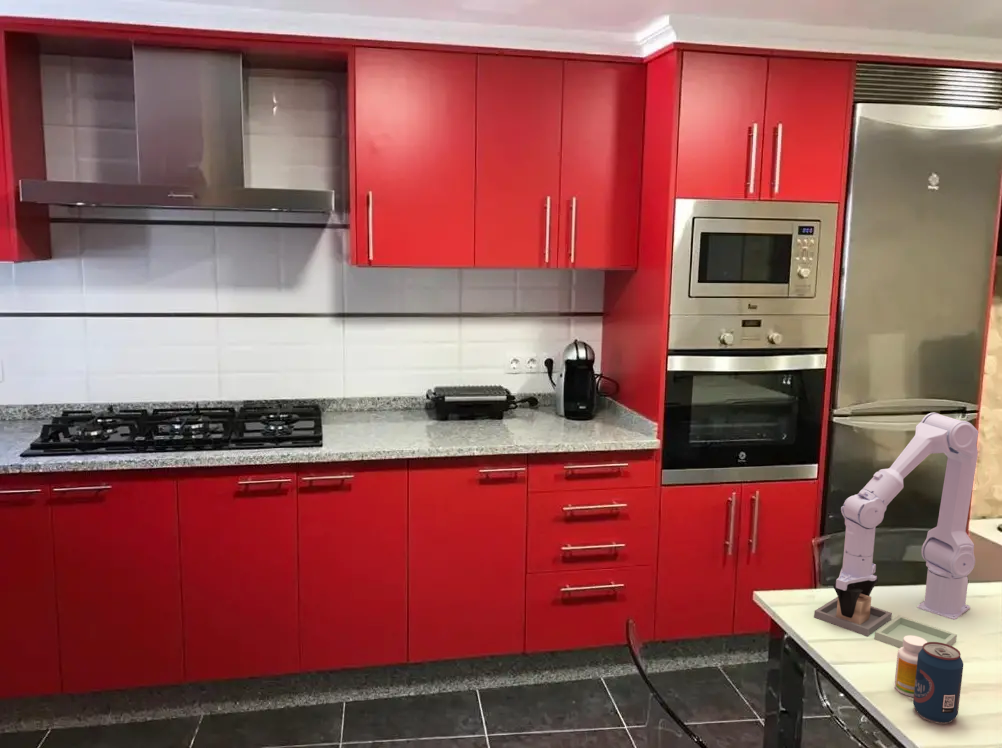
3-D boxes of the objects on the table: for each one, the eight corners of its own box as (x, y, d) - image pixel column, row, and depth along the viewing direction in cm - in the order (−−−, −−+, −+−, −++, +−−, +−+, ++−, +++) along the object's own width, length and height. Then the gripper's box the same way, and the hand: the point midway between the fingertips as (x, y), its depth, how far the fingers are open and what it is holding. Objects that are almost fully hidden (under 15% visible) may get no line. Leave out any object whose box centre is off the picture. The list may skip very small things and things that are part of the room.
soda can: (904, 703, 149) (910, 640, 147) (942, 702, 149) (948, 639, 147) (926, 726, 142) (933, 660, 140) (966, 725, 142) (973, 659, 140)
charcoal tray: (838, 603, 189) (839, 595, 189) (891, 620, 181) (892, 612, 180) (813, 618, 181) (814, 610, 181) (867, 637, 173) (868, 629, 173)
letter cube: (846, 611, 185) (848, 589, 184) (869, 618, 181) (871, 596, 180) (835, 618, 181) (837, 595, 180) (858, 626, 177) (860, 603, 177)
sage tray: (897, 623, 180) (898, 615, 179) (956, 642, 171) (956, 634, 171) (874, 640, 172) (875, 631, 172) (933, 661, 164) (934, 652, 163)
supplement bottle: (930, 699, 150) (936, 649, 148) (898, 696, 151) (903, 645, 150) (922, 684, 155) (927, 635, 154) (891, 680, 156) (895, 631, 155)
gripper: (861, 566, 171) (856, 628, 173) (892, 549, 181) (886, 608, 183) (828, 556, 176) (823, 617, 178) (859, 540, 186) (854, 598, 188)
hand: (853, 612), depth 181 cm, fingers closed on letter cube, 5 cm apart
